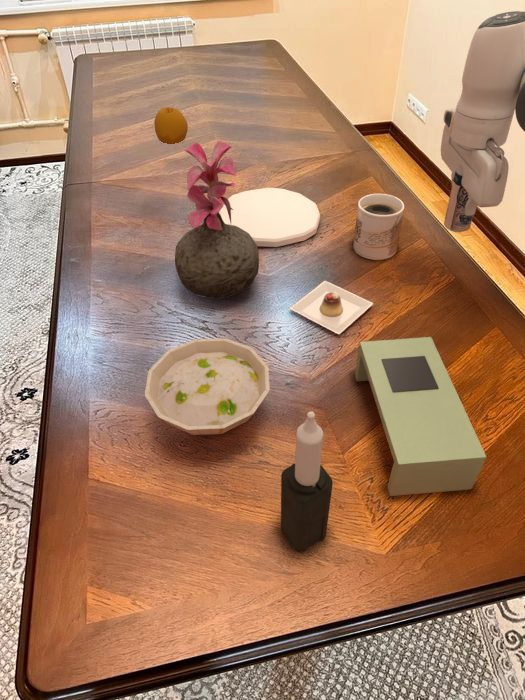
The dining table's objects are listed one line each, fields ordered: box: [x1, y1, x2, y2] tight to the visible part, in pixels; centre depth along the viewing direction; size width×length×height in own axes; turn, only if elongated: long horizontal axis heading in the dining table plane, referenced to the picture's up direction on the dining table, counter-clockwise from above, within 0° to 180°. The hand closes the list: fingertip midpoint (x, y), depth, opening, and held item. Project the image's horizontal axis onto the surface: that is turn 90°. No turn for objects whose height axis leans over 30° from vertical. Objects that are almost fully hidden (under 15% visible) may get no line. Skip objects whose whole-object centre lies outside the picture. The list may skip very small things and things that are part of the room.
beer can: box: [443, 165, 474, 233], centre depth 96 cm, size 5×5×12 cm
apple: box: [153, 106, 189, 144], centre depth 161 cm, size 10×10×12 cm
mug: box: [352, 193, 405, 261], centre depth 120 cm, size 10×12×11 cm
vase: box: [174, 140, 260, 300], centre depth 103 cm, size 17×17×30 cm
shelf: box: [354, 336, 487, 497], centre depth 83 cm, size 12×24×8 cm, turn 5°
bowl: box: [144, 337, 271, 436], centre depth 84 cm, size 19×19×10 cm
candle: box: [280, 411, 334, 553], centre depth 65 cm, size 5×5×25 cm
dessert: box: [289, 280, 374, 335], centre depth 105 cm, size 12×12×5 cm
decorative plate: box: [219, 187, 321, 248], centre depth 131 cm, size 25×4×25 cm
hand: (461, 205), depth 97 cm, fingers closed on beer can, 5 cm apart
